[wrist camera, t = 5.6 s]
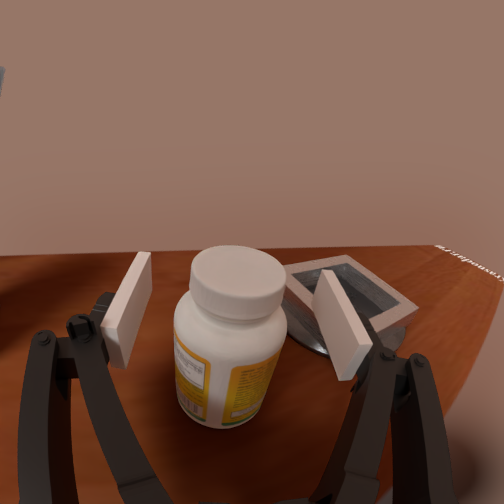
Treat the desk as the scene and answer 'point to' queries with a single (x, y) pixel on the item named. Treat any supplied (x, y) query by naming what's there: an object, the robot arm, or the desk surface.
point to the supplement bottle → (228, 334)
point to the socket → (359, 293)
